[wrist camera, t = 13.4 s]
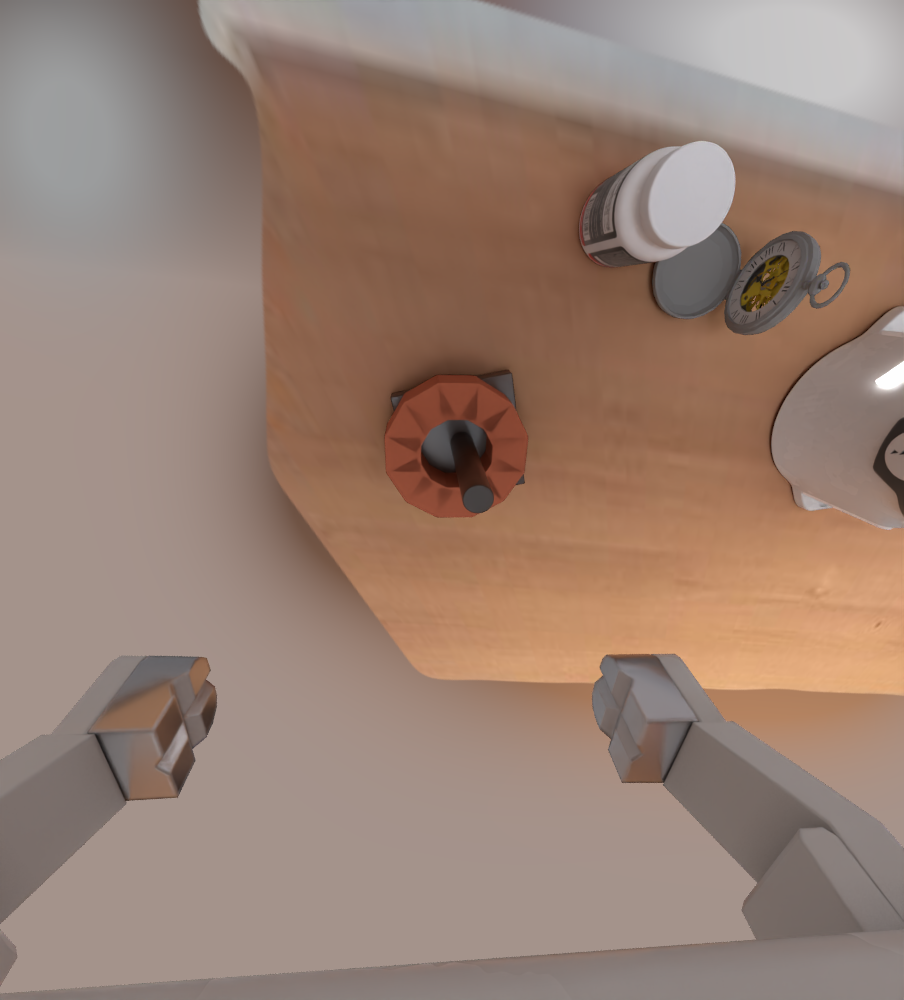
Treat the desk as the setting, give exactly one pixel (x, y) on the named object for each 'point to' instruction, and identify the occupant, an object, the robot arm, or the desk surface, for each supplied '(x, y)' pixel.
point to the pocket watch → (742, 280)
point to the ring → (433, 408)
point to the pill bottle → (658, 205)
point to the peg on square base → (465, 448)
